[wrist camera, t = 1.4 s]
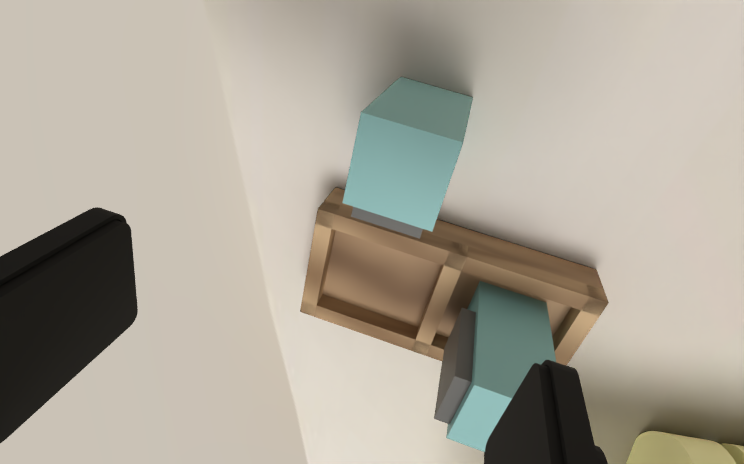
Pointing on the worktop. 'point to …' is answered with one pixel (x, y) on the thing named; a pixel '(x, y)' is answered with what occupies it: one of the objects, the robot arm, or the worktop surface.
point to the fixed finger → (489, 360)
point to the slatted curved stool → (682, 450)
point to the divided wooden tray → (435, 281)
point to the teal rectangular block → (406, 155)
